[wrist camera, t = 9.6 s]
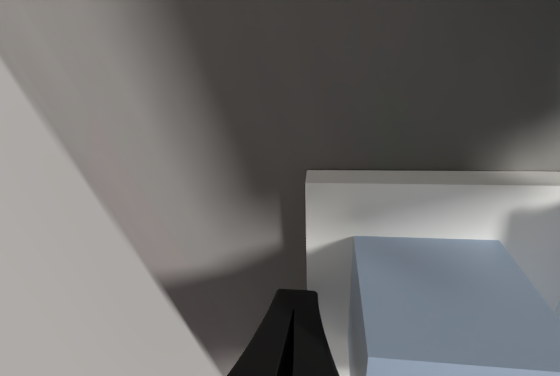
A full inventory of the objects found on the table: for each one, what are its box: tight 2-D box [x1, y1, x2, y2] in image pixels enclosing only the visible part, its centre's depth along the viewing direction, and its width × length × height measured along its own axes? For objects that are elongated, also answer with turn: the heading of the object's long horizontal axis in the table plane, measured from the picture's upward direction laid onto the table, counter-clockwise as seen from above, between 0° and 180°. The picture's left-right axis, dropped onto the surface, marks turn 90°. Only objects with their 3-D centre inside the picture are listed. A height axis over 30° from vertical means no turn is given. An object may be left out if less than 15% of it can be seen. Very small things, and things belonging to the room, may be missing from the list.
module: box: [348, 236, 560, 376], centre depth 10 cm, size 5×4×5 cm
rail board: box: [305, 170, 560, 376], centre depth 12 cm, size 12×11×3 cm
